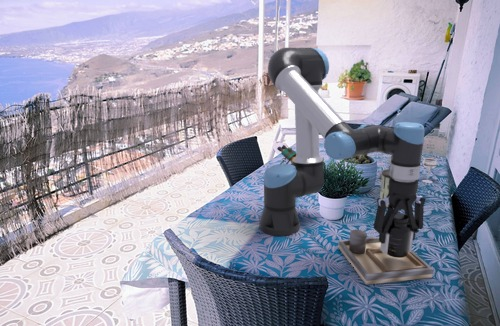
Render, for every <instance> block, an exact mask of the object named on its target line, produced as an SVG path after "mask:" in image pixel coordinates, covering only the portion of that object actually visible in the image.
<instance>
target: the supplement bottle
mask: <svg viewBox="0 0 500 326" xmlns="http://www.w3.org/2000/svg"><path fill="white" fill-rule="evenodd" d="M387 233H388V234H389V243H388V252H387V254H388V255H389V256H392V257H396V258H403V257H405V256H407V254H408V249H409V241H410V233H411V228H410V226H409V225H408V216H407V215H405V213H403V212H398V213H397V214H396V215H395V217H394V219H393V221H392V223H391V225H390V227H389V230H388V232H387Z"/></svg>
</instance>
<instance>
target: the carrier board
mask: <svg viewBox="0 0 500 326" xmlns="http://www.w3.org/2000/svg"><path fill="white" fill-rule="evenodd" d="M337 245H338V246H337V247H338V250H340V253H342V255H343V256H344V257H345V259H346V260H347V261H348V263H349V264H350V263H351V264H350V265H351V266H352V268H353V267H354V268H353V269H354V271H355V272H356V273H357V274H358V276H359V278H360V279H361V280H362V282H364V284H365V285H375V284H377V285H378V284H386V283H393V282H394V283H395V282H404V281H413V280H422V279H423V280H424V279H431V278H433V277H434V269H435V268H433V267H432V266H431V265H429V263H427V262H426V261H425V260H424V259H423V258H421V257H420V256H419V254H417V253H416V252H414V251H413V249H411V252H408V254H407V256H405V257H403V258H396V257H392V256H389V255H388V254H386V255H385V254H384V253H383V252H382V251H381V250H380V247H381V242H380V241H379V236H370V237H367V232H366V231H365V230H362V229H353V230H350V233H349V239H338V244H337Z"/></svg>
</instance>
